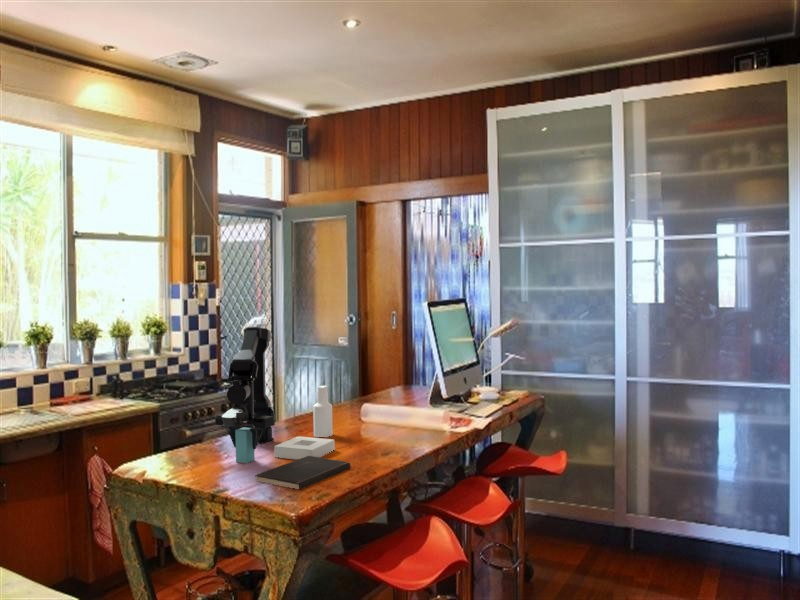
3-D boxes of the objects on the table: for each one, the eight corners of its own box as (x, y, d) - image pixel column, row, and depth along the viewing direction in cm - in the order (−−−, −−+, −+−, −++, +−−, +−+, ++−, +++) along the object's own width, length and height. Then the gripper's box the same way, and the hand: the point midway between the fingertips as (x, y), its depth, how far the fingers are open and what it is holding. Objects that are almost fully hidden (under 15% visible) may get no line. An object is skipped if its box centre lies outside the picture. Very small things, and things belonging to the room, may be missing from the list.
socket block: (274, 457, 201) (274, 446, 201) (298, 446, 214) (297, 436, 214) (312, 461, 195) (312, 449, 195) (334, 450, 208) (334, 439, 208)
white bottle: (334, 433, 232) (333, 384, 232) (330, 438, 226) (329, 387, 225) (316, 433, 233) (315, 384, 233) (311, 437, 226) (310, 387, 226)
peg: (236, 462, 196) (235, 430, 195) (243, 458, 199) (243, 427, 199) (246, 463, 194) (246, 431, 194) (254, 460, 198) (253, 428, 198)
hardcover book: (255, 483, 176) (255, 474, 176) (308, 463, 195) (308, 455, 195) (299, 492, 167) (299, 483, 167) (350, 470, 187) (350, 462, 187)
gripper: (202, 400, 192) (203, 451, 193) (253, 404, 185) (254, 457, 186) (225, 395, 203) (226, 443, 203) (275, 398, 196) (276, 448, 196)
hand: (245, 448), depth 197 cm, fingers open, 7 cm apart
